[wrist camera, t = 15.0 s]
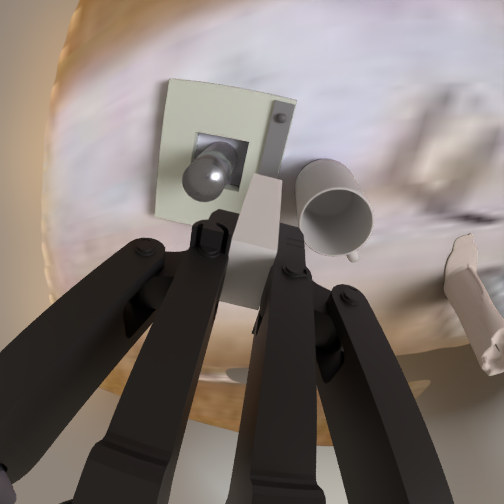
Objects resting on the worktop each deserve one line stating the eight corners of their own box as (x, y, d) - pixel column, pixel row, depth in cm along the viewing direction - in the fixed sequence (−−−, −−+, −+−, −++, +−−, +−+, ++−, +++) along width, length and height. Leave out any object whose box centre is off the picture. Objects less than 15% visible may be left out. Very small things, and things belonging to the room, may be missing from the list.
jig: (174, 78, 34) (167, 79, 32) (296, 100, 35) (297, 101, 32) (159, 211, 45) (152, 219, 43) (262, 233, 46) (260, 243, 43)
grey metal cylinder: (206, 138, 39) (184, 157, 30) (240, 145, 39) (227, 166, 30) (201, 170, 41) (180, 197, 33) (234, 176, 41) (220, 206, 33)
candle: (480, 230, 41) (543, 307, 24) (471, 291, 48) (514, 370, 31) (446, 238, 43) (505, 323, 26) (441, 300, 49) (479, 385, 32)
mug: (283, 175, 40) (283, 208, 31) (339, 147, 38) (358, 172, 28) (320, 243, 46) (328, 289, 36) (372, 220, 43) (393, 262, 33)
